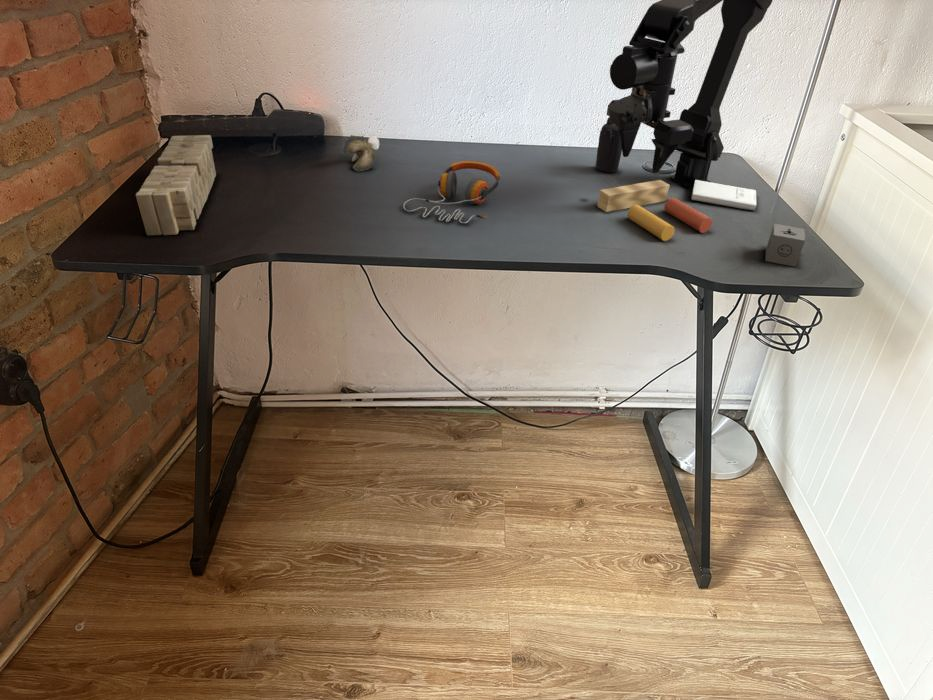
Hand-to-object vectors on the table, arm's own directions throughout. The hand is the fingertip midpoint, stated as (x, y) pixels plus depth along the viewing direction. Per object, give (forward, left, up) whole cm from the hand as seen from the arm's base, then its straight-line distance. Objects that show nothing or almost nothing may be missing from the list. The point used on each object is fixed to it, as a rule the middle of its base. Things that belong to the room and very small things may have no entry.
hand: (639, 164), depth 133 cm
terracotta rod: (-4, +11, -8) cm, 14 cm away
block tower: (+81, -32, -8) cm, 88 cm away
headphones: (+33, -13, -8) cm, 36 cm away
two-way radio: (-5, -17, -8) cm, 20 cm away
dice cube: (-10, +29, -8) cm, 32 cm away
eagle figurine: (+44, -40, -8) cm, 60 cm away
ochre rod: (+5, +11, -8) cm, 14 cm away
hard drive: (-19, +5, -8) cm, 22 cm away
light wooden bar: (0, 0, -8) cm, 8 cm away
